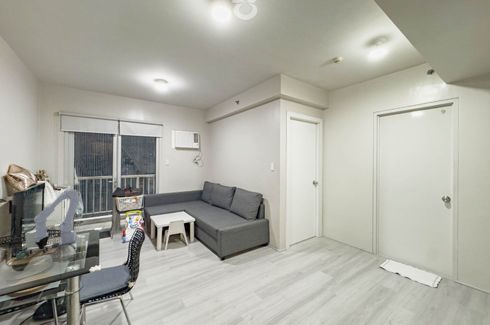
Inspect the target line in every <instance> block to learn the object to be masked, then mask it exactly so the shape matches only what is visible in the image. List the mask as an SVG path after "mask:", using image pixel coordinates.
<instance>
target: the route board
mask: <svg viewBox="0 0 490 325" xmlns="http://www.w3.org/2000/svg"><path fill="white" fill-rule="evenodd" d="M45 249H46V250H45ZM45 249H43V251H37V252H32V250H29V251H28V250H27V251H26V250H22V251H21V250H20V252H18V253H17V254H15V259H14V260H13V261H21V260H25V259H29V258H30V259H31V258H36V257H39V256H44V255H52V254H54V253H55V252H56V251H57V250H58V249H59V248H53V249H48V247H45ZM29 252H30V253H29Z"/></svg>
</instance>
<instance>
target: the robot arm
mask: <svg viewBox="0 0 490 325" xmlns="http://www.w3.org/2000/svg"><path fill="white" fill-rule="evenodd" d="M67 199H69V201H70V203H69V205H68V209H67V210H66V211H67V212H66V215H65V218H64V220H63V221H62V223H61V224H60V225H59V230H60V239H61V242H60V243H59V245H62V244H63V245H66V243H67V244H72V243H75V242H76V241H77V240H78V238H77V231H76V230H73V224H74V223H73V220H74V217H75V214H76V210H77V208H78V205H79V202H80V197H79V195H78V192H77V191H76V190H74V189H65V190H64V191H62V192H61V193H60V194H59V196H58V197H57V198H56V199H55V200H54V201H53V202H52V203H51V204H50V205H48V206H46V207H44V208H43V210H42V211H41V212H40V213H38V214H37V215H36V216H35V217H34V219H33V222H35V224H34V225H35V230H36V235H37V237H35V238H36V240H35V243H36V244H37V245H38V247H39V249H44V246H46V245H48V241H49V238H50V235H49V232H47V231H48V230H47V223H46V221H47V219H48V218H49V217H50V215H51V214H53V213H54V212H55V208H56V207H57V206H58V205H59V204H60V203H62V202H63V201H64V200H67Z"/></svg>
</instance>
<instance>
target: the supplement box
mask: <svg viewBox="0 0 490 325" xmlns="http://www.w3.org/2000/svg"><path fill="white" fill-rule="evenodd" d="M24 237H25V242H26V243H25V245H26V249H28V248H31V247H34V248H35V247H38V245H37V244H36V243H35V240H36V238H35V237H37V235H36V229H33V230H30V231H27V232H25V233H24Z"/></svg>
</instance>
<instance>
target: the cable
mask: <svg viewBox="0 0 490 325" xmlns="http://www.w3.org/2000/svg"><path fill="white" fill-rule="evenodd" d="M59 245H60V243H59V242H55V243H52V244H47V245H46V246H44V249H45V247H48V249H50V248H56V247H58V246H59ZM27 250H28V251H29V250H32V252H34V251H39V250H43V249H39V247H35V248H34V247H31V248H26V249H25V251H27Z"/></svg>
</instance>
